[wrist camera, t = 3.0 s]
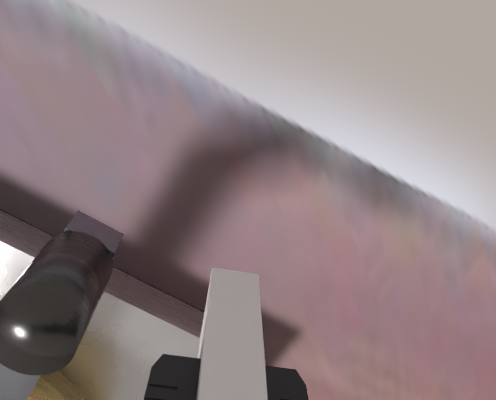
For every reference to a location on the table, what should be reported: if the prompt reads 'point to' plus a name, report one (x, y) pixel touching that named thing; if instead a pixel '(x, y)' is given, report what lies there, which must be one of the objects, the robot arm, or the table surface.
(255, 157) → the table surface
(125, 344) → the flange plate
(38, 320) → the ball knob lever
